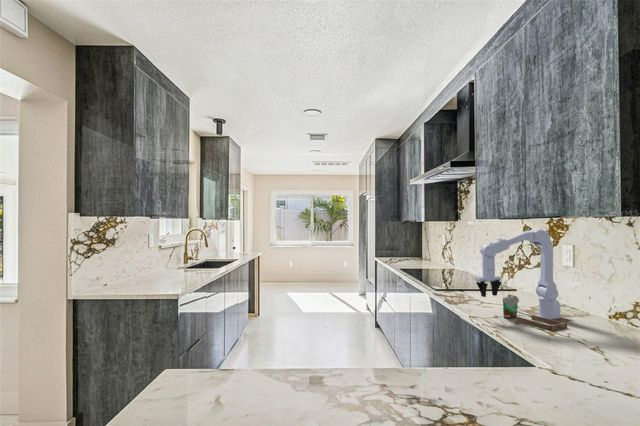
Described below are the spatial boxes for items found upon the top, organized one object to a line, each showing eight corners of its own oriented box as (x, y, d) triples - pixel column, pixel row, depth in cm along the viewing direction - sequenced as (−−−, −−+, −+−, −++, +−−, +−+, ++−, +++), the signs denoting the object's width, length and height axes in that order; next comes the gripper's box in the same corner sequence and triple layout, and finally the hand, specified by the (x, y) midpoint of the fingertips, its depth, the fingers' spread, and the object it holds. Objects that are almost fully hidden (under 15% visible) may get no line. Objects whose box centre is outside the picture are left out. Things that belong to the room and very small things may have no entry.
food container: (516, 320, 183) (516, 299, 184) (502, 318, 187) (502, 298, 187) (521, 315, 193) (521, 295, 193) (508, 313, 197) (507, 294, 197)
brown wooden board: (532, 319, 186) (532, 315, 186) (567, 327, 170) (567, 323, 170) (516, 321, 182) (516, 317, 182) (550, 330, 166) (550, 326, 166)
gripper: (492, 267, 198) (493, 293, 198) (471, 268, 192) (472, 295, 192) (504, 268, 191) (504, 295, 191) (482, 270, 186) (483, 298, 185)
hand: (489, 296), depth 191 cm, fingers open, 7 cm apart
